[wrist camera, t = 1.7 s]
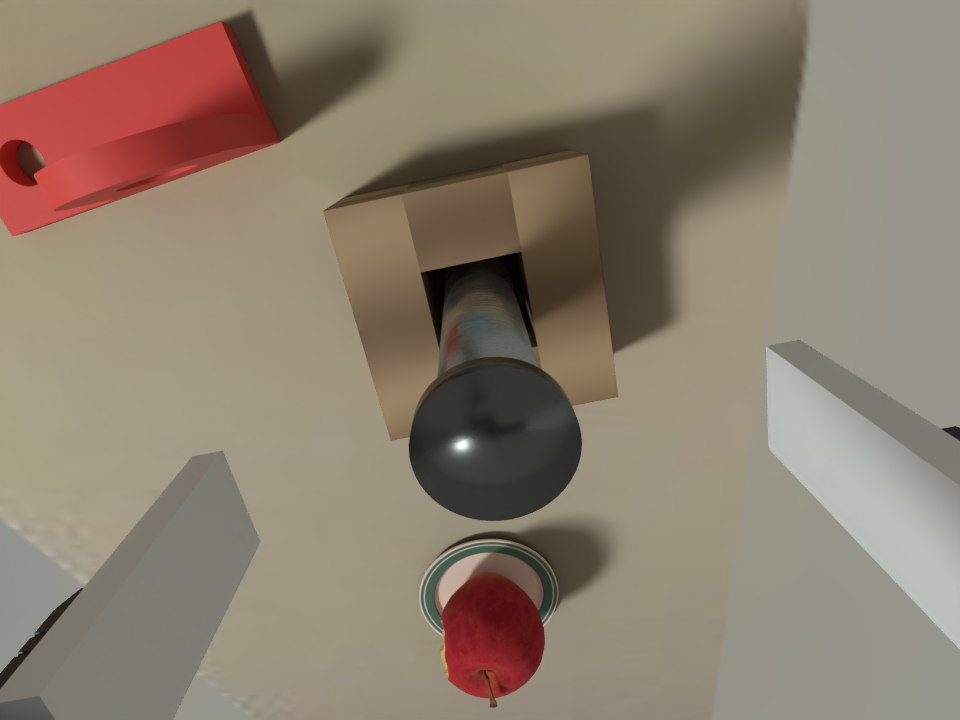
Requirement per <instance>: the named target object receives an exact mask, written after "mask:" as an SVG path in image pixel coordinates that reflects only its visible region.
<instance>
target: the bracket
mask: <svg viewBox="0 0 960 720" xmlns="http://www.w3.org/2000/svg"><path fill="white" fill-rule="evenodd" d="M23 141H26V142H28V143H30V144H32V145H33V146H34V147H36V148H37V149H38V151H39V152H40V153H41V154H42V156H43V158H44V160H45V163H46V167H44V168H43V169H41V170H39V171H38V172H36V173H35V174H34V178H35V179H36V181H37V182H34V181H32V180H31V179H29V178H28V177H27V176H26V175H25V174H24V173H23V172H22V171H21V169H20V168H19V166H18V163H17V159H16V152H17V148H18V146H19V145H20V144H21V143H22V142H23ZM279 142H280V140H279V138H278V136H277V133H276V131H275V128H274V126H273V124H272V121H271V119H270V117H269V114H268V112H267V110H266V107H265V105H264V103H263V100H262V98H261V96H260V93H259V91H258V89H257V86H256V84H255V82H254V79H253V77H252V74H251V72H250V70H249V67H248V65H247V63H246V60H245V58H244V56H243V53H242V51H241V49H240V46H239V44H238V42H237V39H236V37H235V35H234V32H233V30H232V27H231V25H229V24H226V23H224V22H221V21H220V22H218V23H215V24H212V25H210V26H207V27H205V28H202V29H199V30H197V31H194V32H191V33H189V34H186V35H184V36H181V37H178V38H176V39H173V40H170V41H168V42H165V43H163V44H160V45H157V46H155V47H152V48H149V49H147V50H144V51H142V52H139V53H136V54H134V55H131V56H128V57H126V58H123V59H120V60H118V61H115V62H113V63H110V64H107V65H105V66H102V67H99V68H97V69H94V70H92V71H89V72H86V73H84V74H81V75H78V76H76V77H73V78H71V79H68V80H65V81H63V82H60V83H57V84H55V85H52V86H50V87H47V88H44V89H42V90H39V91H36V92H34V93H31V94H29V95H26V96H23V97H21V98H18V99H15V100H13V101H10V102H7V103H5V104H2V105H0V217H1V219H2V220H3V222H4V223H5V225H6V227H7V228H8V230H9V231H10V233H11V235H12V236H15V235H19V234H23V233H27V232H30V231H33V230H36V229H38V228H41V227H44V226H47V225H50V224H52V223H55V222H58V221H61V220H64V219H66V218H69V217H72V216H75V215H78V214H80V213H83V212H86V211H89V210H92V209H94V208H97V207H100V206H103V205H106V204H108V203H111V202H114V201H117V200H120V199H122V198H125V197H128V196H131V195H134V194H136V193H139V192H142V191H145V190H148V189H150V188H153V187H156V186H159V185H162V184H164V183H167V182H170V181H173V180H176V179H178V178H181V177H184V176H187V175H190V174H193V173H195V172H198V171H201V170H204V169H207V168H209V167H212V166H215V165H218V164H221V163H223V162H226V161H229V160H232V159H235V158H237V157H240V156H243V155H246V154H249V153H251V152H254V151H257V150H260V149H263V148H265V147H268V146H271V145H274V144H277V143H279Z"/></svg>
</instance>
